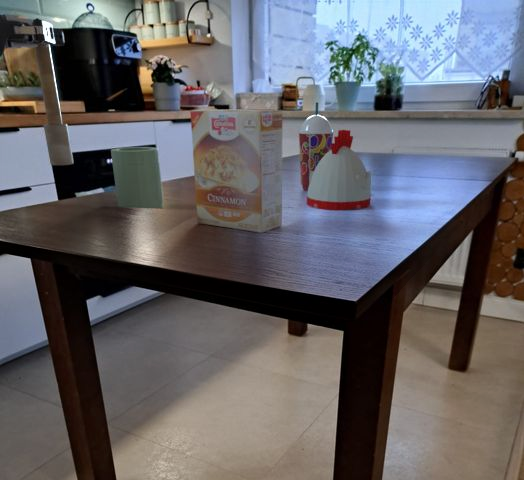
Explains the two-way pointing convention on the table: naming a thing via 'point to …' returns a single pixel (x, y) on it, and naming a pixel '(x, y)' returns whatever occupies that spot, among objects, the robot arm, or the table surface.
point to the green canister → (137, 177)
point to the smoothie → (313, 144)
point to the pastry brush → (53, 111)
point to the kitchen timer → (340, 178)
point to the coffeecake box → (238, 168)
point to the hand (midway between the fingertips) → (54, 38)
